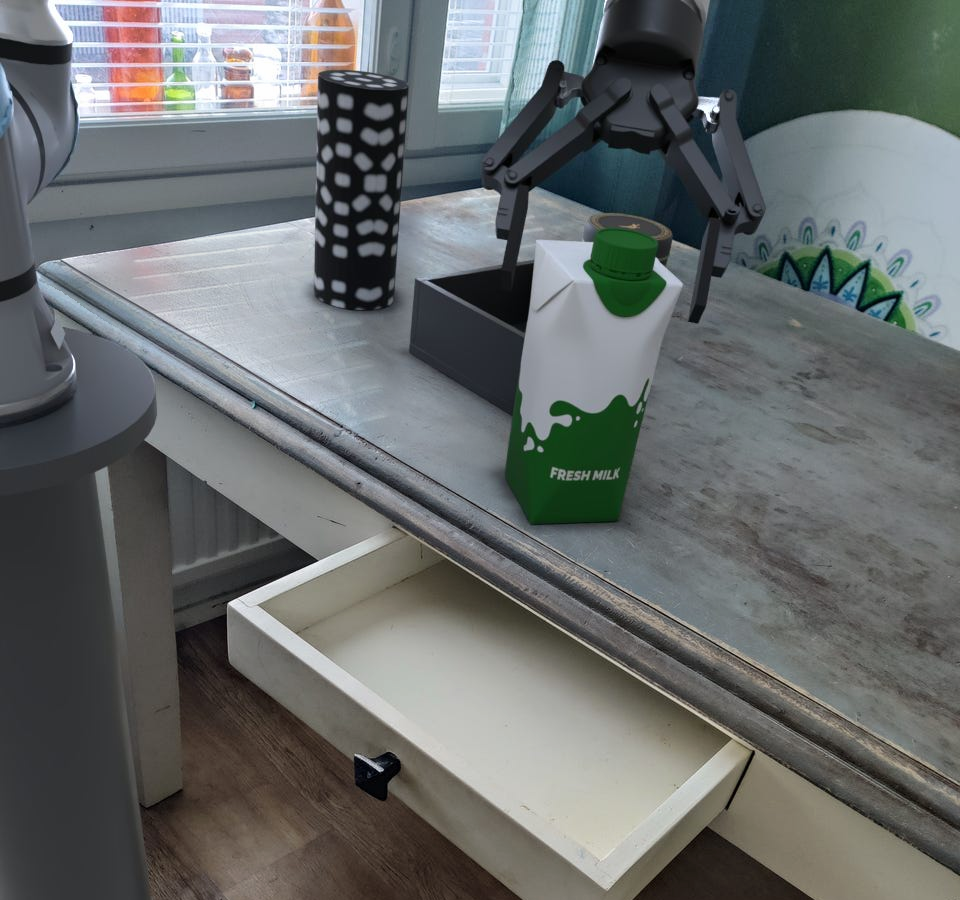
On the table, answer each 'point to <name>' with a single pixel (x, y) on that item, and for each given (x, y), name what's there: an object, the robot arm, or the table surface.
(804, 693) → the table surface
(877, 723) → the table surface
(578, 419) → the milk carton
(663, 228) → the jar
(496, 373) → the basket
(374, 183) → the white-spotted black cylinder
